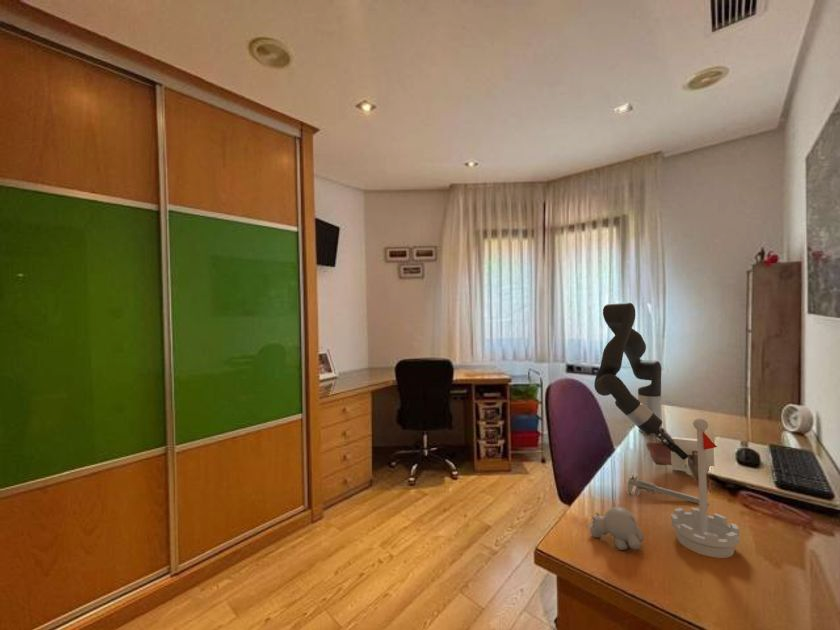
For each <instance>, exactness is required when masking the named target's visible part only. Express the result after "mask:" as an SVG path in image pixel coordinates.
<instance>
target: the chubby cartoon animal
mask: <svg viewBox="0 0 840 630" xmlns="http://www.w3.org/2000/svg"><path fill="white" fill-rule="evenodd" d="M591 519H592V523H591V524H590V523H589V522H587V527H588V529H589V533H590V535H592V537H594V538H596V537H599V538H601V537H602V536H606V535H608V534H610V536H611V537H612V538H614V543H615V546H616V548H617V550H619V551H624V550H626V549H628V548H630V549H631V550H638V549H640V548H641V547H642V543H641V542H643V541H644V540H645V535H644V534H643V532H642V530H640V528H639V526H638V525H639V524H638V521H637V519H636V517H635V515H633V513H632V512H631V511H630V510H628V509H626V508H624V507H620V506H614V507H611V508H609V509H608V510H607V511H606V513H605V515H604V516H602V515H600V514H599V513H598V511H597V512H595V517H594V516H591Z"/></svg>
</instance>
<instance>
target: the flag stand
mask: <svg viewBox="0 0 840 630" xmlns="http://www.w3.org/2000/svg"><path fill="white" fill-rule="evenodd" d="M692 425H693V427H694V429H696V439H697V448H698V477H699V479H698V498H699V504H698V505H699V508H696V507H690V511H685V509H683V508H682V507H679V508H678V507H677V508H675V509H673V513H670V514H671V516H670V517H671V519H670V520H671V522H670V523H671V526H672V528H673V529H674V530H675V532H676V538H677V540H678V543H680V544H681V545H682V546H683V547H685V548H687V549H689V550H691V551H692V552H695V553H696V554H700V555H703V556H707V557H709V558H710V557H712V558H720V559H721V558H722V559H723V558H725V559H726V558H730V557H732V556H733V555H734V554H735V546H737V545H738V544H739V543H740V528H739V526H738V524H736V523H731V522H730V523H728V517H725V516H724V515H721V514H719V513H716V512H715V513H713V516H711V515H708V514H709V513H708V505H707V503H708V491H707V489H708V487H707V471H706V454H705V450H706V449H711V448H714V449H715V448H717V447H718V446H717V445H716V444H715V442H714V443H713V442H712V441H713V440H712V441H711V439H710V437H709V436H708V435H707V434H706V430H707V429H708V428H709V423H708V422H707V420H706V419H704V418H701V417H698V418H696V419H693V422H692Z"/></svg>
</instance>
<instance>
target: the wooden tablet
mask: <svg viewBox="0 0 840 630" xmlns="http://www.w3.org/2000/svg"><path fill="white" fill-rule="evenodd" d="M646 447H647V449H648V451H649V452H650V455H651V457H652V459H653V461H654V463H655V465H660V466H670V467H672V465H671V450H670V449H669V448H667V447H666V446H665V445H664V444H662V443H661V442H660V443H659V442H647V443H646ZM685 468H687V463H685Z"/></svg>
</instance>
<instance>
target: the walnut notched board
mask: <svg viewBox="0 0 840 630" xmlns="http://www.w3.org/2000/svg"><path fill="white" fill-rule="evenodd" d="M687 465H688V467H689V469H690V471H691V473H692V474H693V476H694V478H695V479H698V480H699V477H698V451H692V455H688V458H687Z"/></svg>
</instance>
